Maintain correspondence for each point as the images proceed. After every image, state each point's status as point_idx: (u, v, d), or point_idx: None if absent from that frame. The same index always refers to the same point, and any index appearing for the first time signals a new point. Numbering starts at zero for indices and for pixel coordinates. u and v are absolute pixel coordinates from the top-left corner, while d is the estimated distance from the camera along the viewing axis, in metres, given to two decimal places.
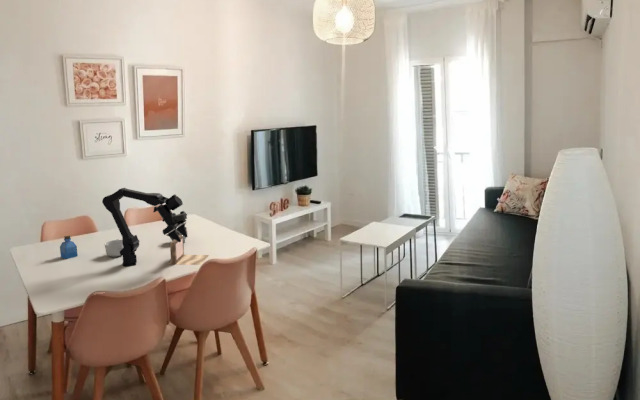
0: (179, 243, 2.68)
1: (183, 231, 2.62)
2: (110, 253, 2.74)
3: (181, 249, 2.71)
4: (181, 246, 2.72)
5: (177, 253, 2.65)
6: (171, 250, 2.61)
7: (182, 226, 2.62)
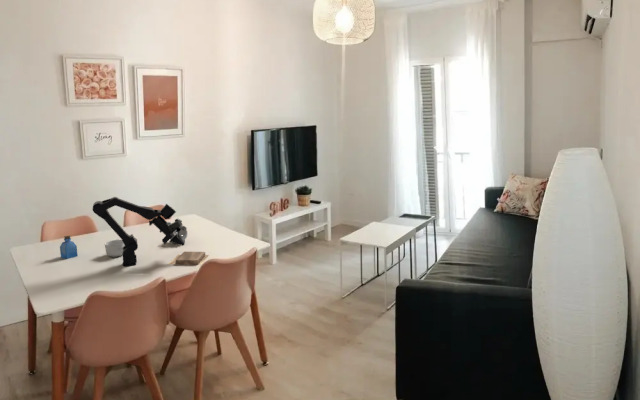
0: None
1: None
2: (110, 253, 2.74)
3: None
4: None
5: None
6: (190, 261, 2.62)
7: None
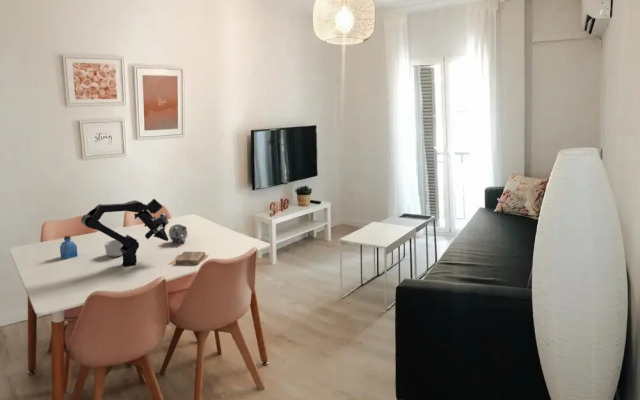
0: None
1: None
2: (110, 253, 2.74)
3: None
4: None
5: None
6: (190, 261, 2.62)
7: None
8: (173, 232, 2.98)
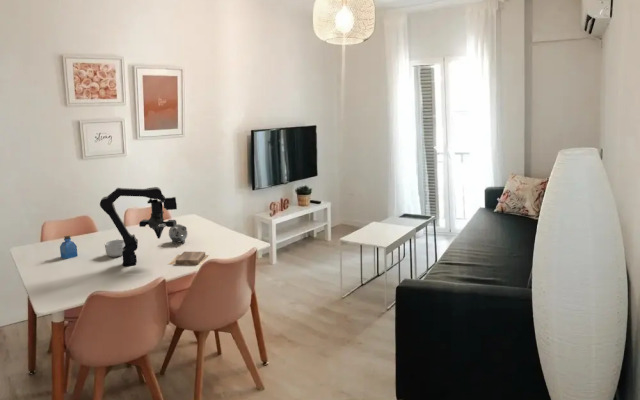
0: None
1: None
2: (110, 253, 2.74)
3: None
4: None
5: None
6: (190, 261, 2.62)
7: None
8: (173, 232, 2.98)
